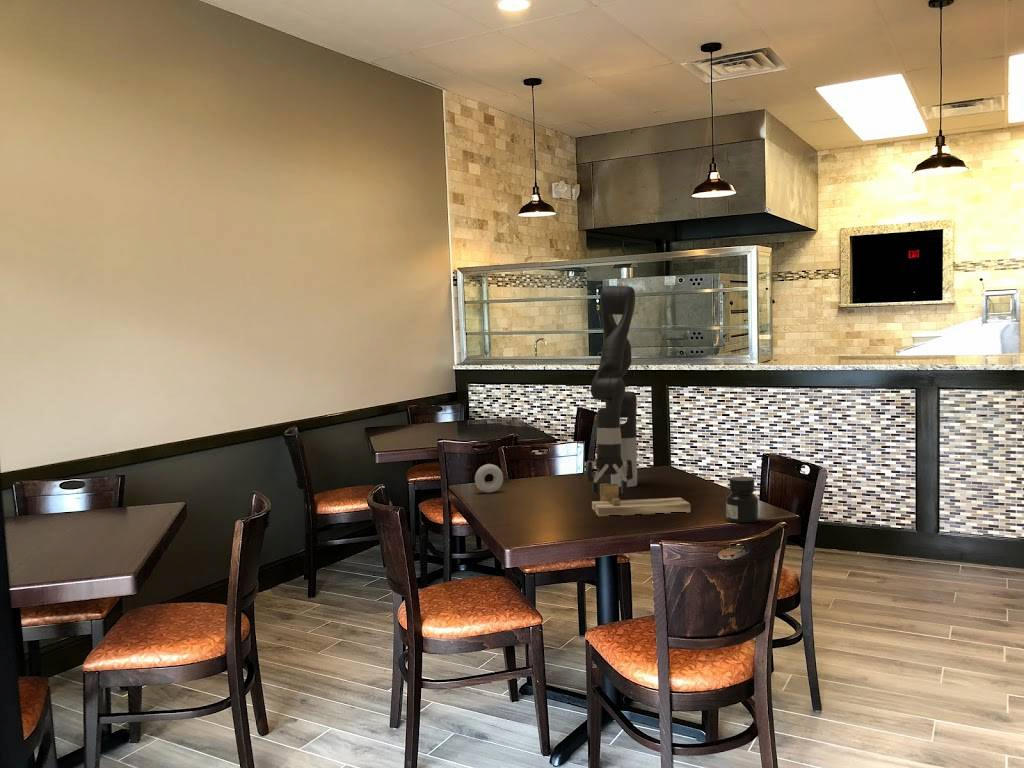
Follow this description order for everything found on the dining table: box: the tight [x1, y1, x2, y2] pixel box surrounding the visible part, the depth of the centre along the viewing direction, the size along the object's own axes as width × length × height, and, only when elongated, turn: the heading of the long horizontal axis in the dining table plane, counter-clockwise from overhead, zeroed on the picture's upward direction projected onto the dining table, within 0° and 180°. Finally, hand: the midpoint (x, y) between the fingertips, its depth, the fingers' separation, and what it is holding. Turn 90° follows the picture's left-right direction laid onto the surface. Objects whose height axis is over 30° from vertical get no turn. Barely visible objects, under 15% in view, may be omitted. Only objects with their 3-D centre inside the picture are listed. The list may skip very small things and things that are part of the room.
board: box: [591, 497, 692, 517], centre depth 260 cm, size 10×28×2 cm, turn 96°
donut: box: [474, 463, 504, 494], centre depth 294 cm, size 10×4×10 cm, turn 105°
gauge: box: [599, 483, 621, 505], centre depth 263 cm, size 14×5×7 cm, turn 6°
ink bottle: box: [725, 476, 759, 524], centre depth 245 cm, size 10×9×12 cm
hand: (609, 493), depth 266 cm, fingers open, 8 cm apart
